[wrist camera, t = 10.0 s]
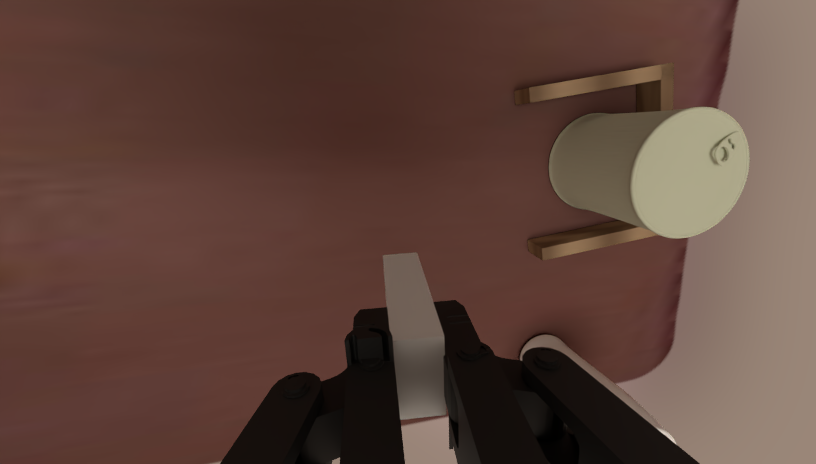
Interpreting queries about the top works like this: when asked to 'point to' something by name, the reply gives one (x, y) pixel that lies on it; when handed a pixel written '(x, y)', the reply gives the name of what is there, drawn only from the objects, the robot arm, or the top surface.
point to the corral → (651, 97)
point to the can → (653, 167)
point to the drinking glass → (559, 345)
